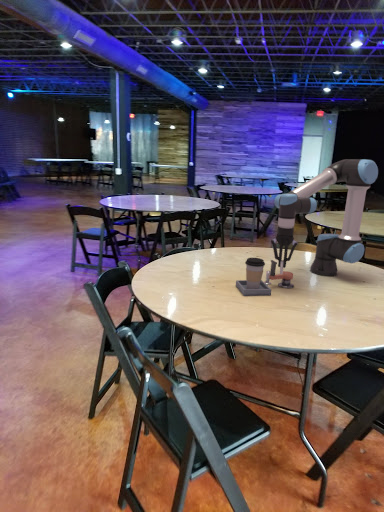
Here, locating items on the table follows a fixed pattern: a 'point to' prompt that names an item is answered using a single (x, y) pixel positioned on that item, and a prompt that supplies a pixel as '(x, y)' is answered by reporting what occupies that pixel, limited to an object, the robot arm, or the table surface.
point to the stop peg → (267, 278)
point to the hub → (285, 284)
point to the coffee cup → (254, 272)
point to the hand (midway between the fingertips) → (281, 273)
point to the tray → (262, 290)
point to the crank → (285, 274)
